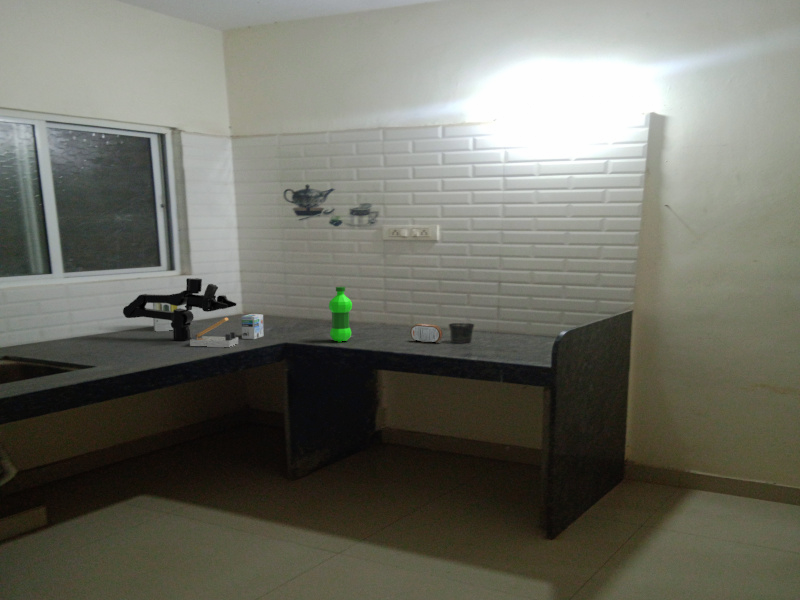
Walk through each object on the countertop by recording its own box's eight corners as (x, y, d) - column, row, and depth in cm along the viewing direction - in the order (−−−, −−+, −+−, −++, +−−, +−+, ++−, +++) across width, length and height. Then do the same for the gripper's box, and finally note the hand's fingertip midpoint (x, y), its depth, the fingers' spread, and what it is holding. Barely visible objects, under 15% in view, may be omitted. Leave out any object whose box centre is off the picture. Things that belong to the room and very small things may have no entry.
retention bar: (196, 338, 279) (194, 335, 279) (199, 336, 283) (198, 334, 283) (225, 320, 277) (224, 318, 277) (228, 319, 280) (227, 317, 280)
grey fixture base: (190, 346, 277) (189, 334, 276) (200, 342, 286) (199, 330, 286) (229, 347, 274) (229, 335, 274) (238, 343, 284) (238, 331, 284)
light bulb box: (254, 339, 296) (254, 316, 295) (241, 339, 297) (240, 316, 296) (264, 336, 306) (263, 313, 305) (251, 335, 308) (250, 313, 307)
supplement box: (154, 331, 319) (153, 297, 317) (153, 328, 331) (152, 295, 329) (182, 330, 324) (181, 296, 322) (180, 326, 336) (179, 294, 334)
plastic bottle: (356, 341, 292) (356, 287, 289) (339, 344, 284) (339, 288, 281) (341, 338, 298) (341, 285, 296) (324, 341, 291) (324, 287, 288)
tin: (442, 343, 287) (442, 324, 286) (440, 344, 284) (440, 325, 284) (412, 340, 294) (412, 322, 293) (409, 341, 291) (409, 323, 290)
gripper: (191, 284, 281) (224, 288, 278) (210, 283, 299) (241, 286, 297) (189, 309, 282) (222, 313, 279) (208, 306, 300) (239, 310, 298)
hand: (232, 305), depth 288 cm, fingers open, 9 cm apart
